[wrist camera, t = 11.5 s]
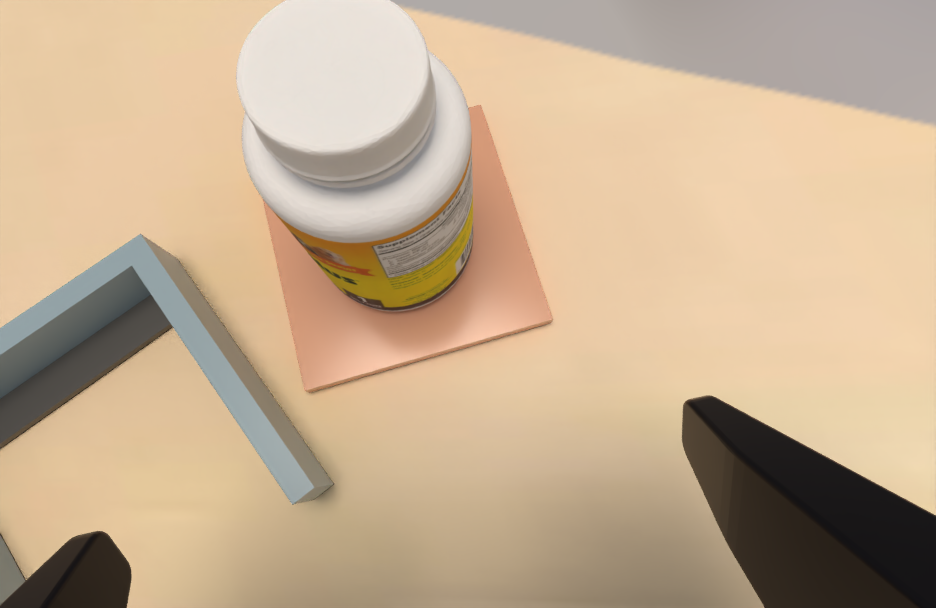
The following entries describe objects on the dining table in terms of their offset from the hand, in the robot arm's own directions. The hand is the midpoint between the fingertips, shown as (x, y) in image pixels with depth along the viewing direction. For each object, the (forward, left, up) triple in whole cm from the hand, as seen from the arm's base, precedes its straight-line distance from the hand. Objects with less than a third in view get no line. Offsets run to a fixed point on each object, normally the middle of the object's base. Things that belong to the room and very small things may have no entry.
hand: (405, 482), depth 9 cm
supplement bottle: (+8, -1, -11) cm, 14 cm away
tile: (+8, -1, -12) cm, 14 cm away
